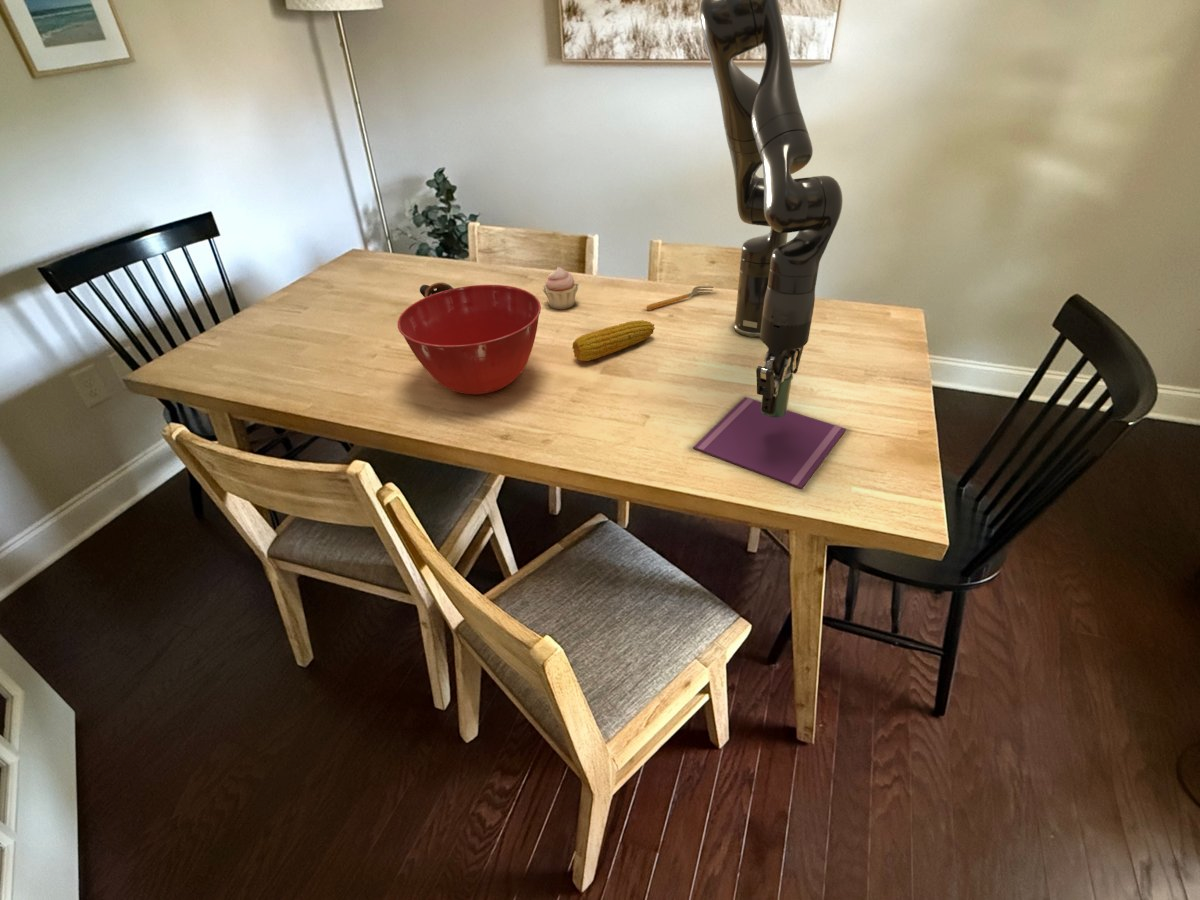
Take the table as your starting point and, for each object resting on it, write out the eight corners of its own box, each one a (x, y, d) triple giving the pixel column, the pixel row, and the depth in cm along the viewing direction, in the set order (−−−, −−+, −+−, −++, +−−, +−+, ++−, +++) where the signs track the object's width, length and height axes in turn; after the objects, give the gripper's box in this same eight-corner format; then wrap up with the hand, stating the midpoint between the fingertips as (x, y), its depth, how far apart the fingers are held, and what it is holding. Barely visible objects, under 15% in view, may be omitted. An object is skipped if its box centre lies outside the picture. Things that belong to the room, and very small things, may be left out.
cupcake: (562, 294, 171) (559, 257, 165) (587, 303, 166) (585, 265, 160) (536, 305, 166) (532, 268, 160) (560, 315, 160) (557, 276, 155)
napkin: (744, 398, 126) (744, 396, 125) (845, 430, 115) (846, 428, 115) (693, 448, 113) (693, 446, 113) (801, 489, 103) (801, 487, 103)
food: (584, 368, 138) (582, 344, 134) (570, 359, 142) (568, 334, 138) (659, 339, 147) (659, 315, 144) (643, 331, 151) (643, 308, 148)
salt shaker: (767, 401, 113) (772, 361, 108) (790, 408, 111) (797, 368, 106) (756, 412, 110) (761, 371, 106) (780, 420, 108) (786, 379, 103)
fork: (649, 306, 159) (714, 286, 166) (645, 302, 160) (709, 282, 167) (648, 314, 161) (712, 294, 168) (644, 310, 162) (708, 290, 169)
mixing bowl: (428, 429, 121) (411, 357, 112) (403, 365, 143) (386, 300, 133) (567, 393, 130) (561, 323, 121) (523, 337, 151) (515, 274, 142)
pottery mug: (470, 305, 169) (463, 286, 161) (451, 332, 166) (443, 314, 158) (432, 288, 171) (424, 268, 164) (412, 315, 168) (403, 296, 160)
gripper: (784, 292, 106) (771, 382, 116) (744, 324, 97) (735, 418, 107) (828, 302, 102) (811, 393, 113) (791, 336, 93) (776, 432, 104)
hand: (774, 405), depth 110 cm, fingers closed on salt shaker, 4 cm apart
